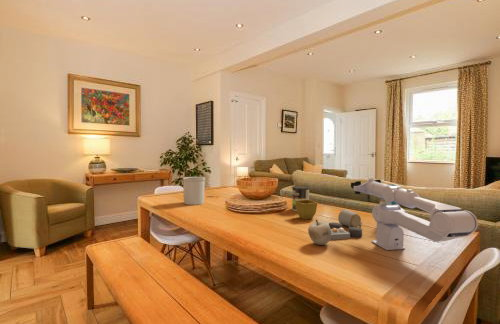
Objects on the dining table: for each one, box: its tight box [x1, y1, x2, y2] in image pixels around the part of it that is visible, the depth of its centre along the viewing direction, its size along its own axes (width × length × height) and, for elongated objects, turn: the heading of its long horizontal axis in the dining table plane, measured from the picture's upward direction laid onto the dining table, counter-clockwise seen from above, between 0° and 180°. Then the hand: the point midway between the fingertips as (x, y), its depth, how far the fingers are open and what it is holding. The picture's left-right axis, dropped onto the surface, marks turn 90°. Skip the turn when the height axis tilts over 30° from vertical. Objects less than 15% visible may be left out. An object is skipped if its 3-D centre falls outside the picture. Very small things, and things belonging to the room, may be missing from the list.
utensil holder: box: [182, 176, 206, 206], centre depth 186 cm, size 15×15×18 cm
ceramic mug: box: [337, 209, 363, 228], centre depth 132 cm, size 11×8×8 cm
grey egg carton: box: [330, 227, 351, 241], centre depth 117 cm, size 7×10×4 cm
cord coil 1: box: [328, 222, 342, 229], centre depth 125 cm, size 6×6×3 cm
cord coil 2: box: [347, 227, 363, 239], centre depth 118 cm, size 6×6×3 cm
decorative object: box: [307, 219, 331, 246], centre depth 107 cm, size 9×9×10 cm
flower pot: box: [295, 199, 318, 220], centre depth 147 cm, size 9×9×9 cm
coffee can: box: [291, 185, 310, 212], centre depth 166 cm, size 10×10×14 cm
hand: (359, 184), depth 124 cm, fingers open, 7 cm apart
